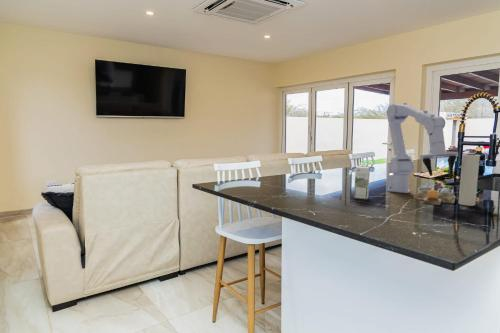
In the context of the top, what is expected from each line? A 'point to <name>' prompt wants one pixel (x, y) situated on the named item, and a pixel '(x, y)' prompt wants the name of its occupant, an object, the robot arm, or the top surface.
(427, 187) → the slate ball
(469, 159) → the paper towel roll
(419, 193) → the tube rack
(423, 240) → the top surface
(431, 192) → the ball orange
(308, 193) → the top surface
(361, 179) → the syrup box
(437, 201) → the stand
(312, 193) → the top surface
